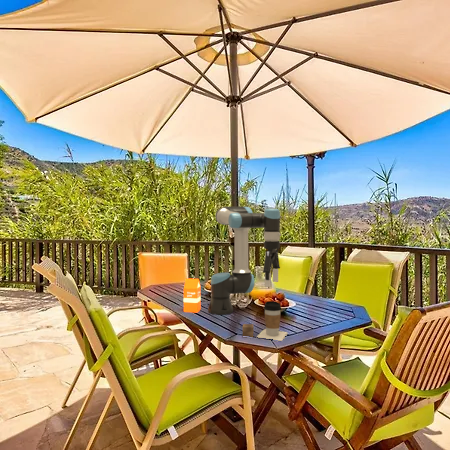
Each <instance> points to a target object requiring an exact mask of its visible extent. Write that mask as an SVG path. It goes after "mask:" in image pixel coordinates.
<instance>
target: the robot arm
mask: <svg viewBox="0 0 450 450" xmlns="http://www.w3.org/2000/svg"><path fill="white" fill-rule="evenodd" d="M214 218H215V221H216V222H217V223H218V224H221V225H224V226H229V227H230V229H231V228H232V230H233V231H234V232H233V233H234V269H233V270H232V273H231V274H230V272H218V273H214V274H213V275H211V278H210V301H209V303H208V307H207V312H208V313H209V314H210V315H221V316H222V315H223V316H224V315H229V314H232V313H233V311H234V308H233V304H232V301H231V295H232V294H233V295H235V294H249V293H251V292H252V291H254V287H255V275H254V274H252V271H251V270H250V268H249V230H250V229H263V234H264V235H263V239H264V242H263V247H264V249H265V250H267V251H265V255H264V261H263V262H264V265H263V270H262V273H263V274H264V287H265V288H271V287H272V282H275V283H278V282H279V269H280V268H281V266H280V260H279V249H280V248H281V244H280V243H281V242H280V239H281V238H280V237H281V236H282V234H281V233H280V229H281V212H280V209H278V208H265V209H264V212H259V213H258V212H253V210H252V209H251V207H249V206H228V205H227V206H223V207H220V208H219V209H218V210H216V212H215V215H214ZM272 267H273V268H272ZM271 269H272V272H271Z"/></svg>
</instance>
